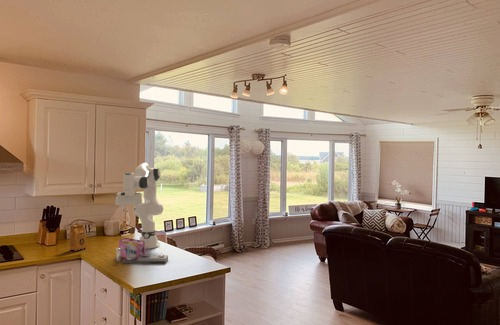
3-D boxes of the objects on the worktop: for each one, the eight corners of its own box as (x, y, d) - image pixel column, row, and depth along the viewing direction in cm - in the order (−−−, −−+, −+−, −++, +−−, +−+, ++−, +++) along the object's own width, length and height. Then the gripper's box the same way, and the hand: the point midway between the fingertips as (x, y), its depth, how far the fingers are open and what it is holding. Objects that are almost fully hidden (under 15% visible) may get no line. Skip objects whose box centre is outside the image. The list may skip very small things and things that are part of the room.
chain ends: (126, 260, 281) (126, 253, 281) (168, 260, 281) (168, 253, 281) (122, 263, 272) (122, 256, 272) (165, 263, 272) (165, 256, 272)
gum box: (146, 258, 287) (146, 241, 287) (138, 260, 280) (138, 243, 280) (126, 254, 300) (126, 237, 300) (118, 256, 294) (118, 239, 294)
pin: (117, 260, 281) (117, 247, 281) (122, 260, 281) (122, 247, 281) (115, 262, 277) (115, 248, 277) (120, 262, 277) (120, 248, 277)
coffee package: (88, 248, 319) (88, 223, 319) (75, 252, 308) (75, 225, 308) (80, 247, 324) (80, 222, 324) (67, 250, 313) (67, 224, 313)
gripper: (140, 192, 297) (140, 209, 297) (114, 193, 285) (114, 211, 284) (143, 192, 292) (143, 210, 292) (117, 193, 280) (117, 211, 279)
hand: (128, 210), depth 288 cm, fingers open, 8 cm apart
